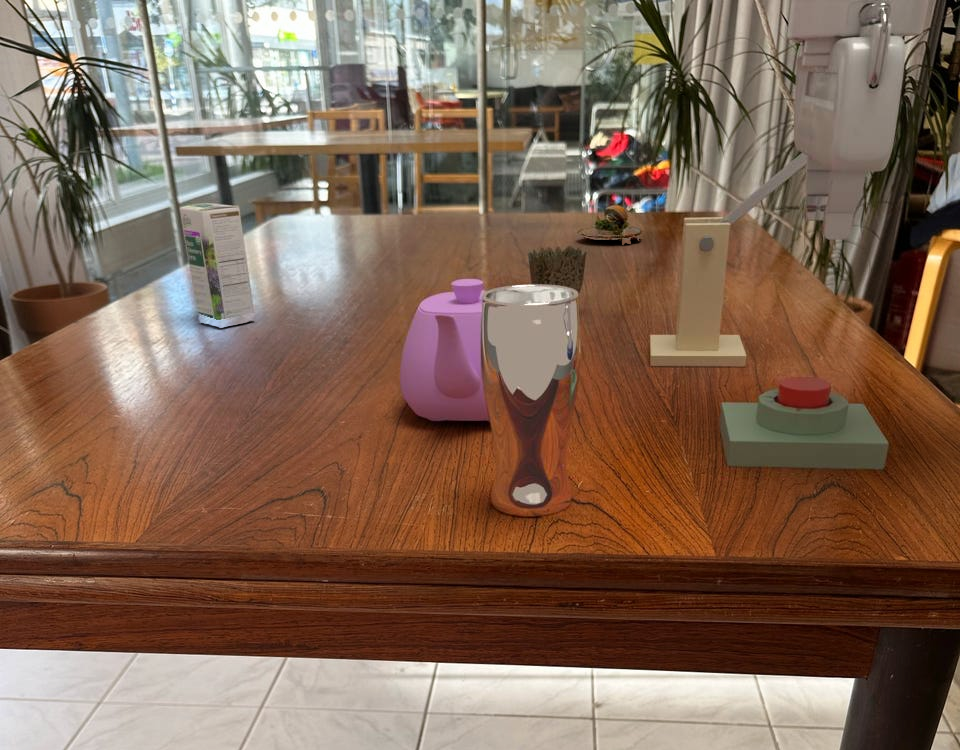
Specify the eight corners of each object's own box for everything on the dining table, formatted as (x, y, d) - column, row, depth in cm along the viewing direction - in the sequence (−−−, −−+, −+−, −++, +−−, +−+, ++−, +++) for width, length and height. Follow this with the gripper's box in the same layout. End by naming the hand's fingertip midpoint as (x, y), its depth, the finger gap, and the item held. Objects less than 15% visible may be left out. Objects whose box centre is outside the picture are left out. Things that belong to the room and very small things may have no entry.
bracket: (738, 345, 107) (752, 213, 100) (745, 366, 100) (761, 226, 93) (649, 345, 109) (657, 215, 102) (649, 366, 101) (658, 227, 94)
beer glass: (500, 525, 67) (494, 308, 60) (474, 490, 73) (466, 288, 65) (591, 512, 69) (597, 298, 61) (559, 479, 75) (561, 280, 67)
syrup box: (197, 324, 127) (175, 206, 119) (235, 315, 130) (216, 201, 123) (220, 330, 123) (199, 209, 116) (258, 321, 127) (240, 203, 119)
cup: (520, 312, 126) (519, 248, 122) (572, 306, 128) (573, 243, 123) (540, 323, 120) (540, 256, 116) (593, 318, 121) (595, 251, 117)
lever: (835, 143, 94) (822, 123, 93) (844, 147, 90) (830, 125, 89) (699, 253, 101) (686, 235, 100) (701, 262, 97) (688, 243, 96)
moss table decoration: (570, 238, 178) (570, 195, 174) (630, 234, 179) (632, 191, 175) (587, 248, 168) (588, 202, 164) (651, 244, 169) (653, 198, 165)
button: (823, 397, 78) (827, 376, 78) (831, 412, 75) (835, 390, 74) (774, 397, 79) (776, 376, 78) (780, 411, 76) (782, 390, 75)
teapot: (425, 381, 99) (417, 263, 93) (550, 383, 97) (551, 262, 91) (375, 447, 83) (361, 307, 76) (526, 450, 80) (524, 308, 74)
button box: (859, 428, 82) (867, 382, 80) (884, 470, 74) (893, 420, 72) (718, 426, 84) (723, 381, 82) (727, 467, 76) (732, 418, 73)
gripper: (947, -3, 55) (898, 251, 62) (876, 12, 72) (845, 210, 79) (833, 1, 56) (799, 251, 63) (791, 16, 73) (767, 211, 80)
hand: (824, 228), depth 71 cm, fingers open, 8 cm apart
